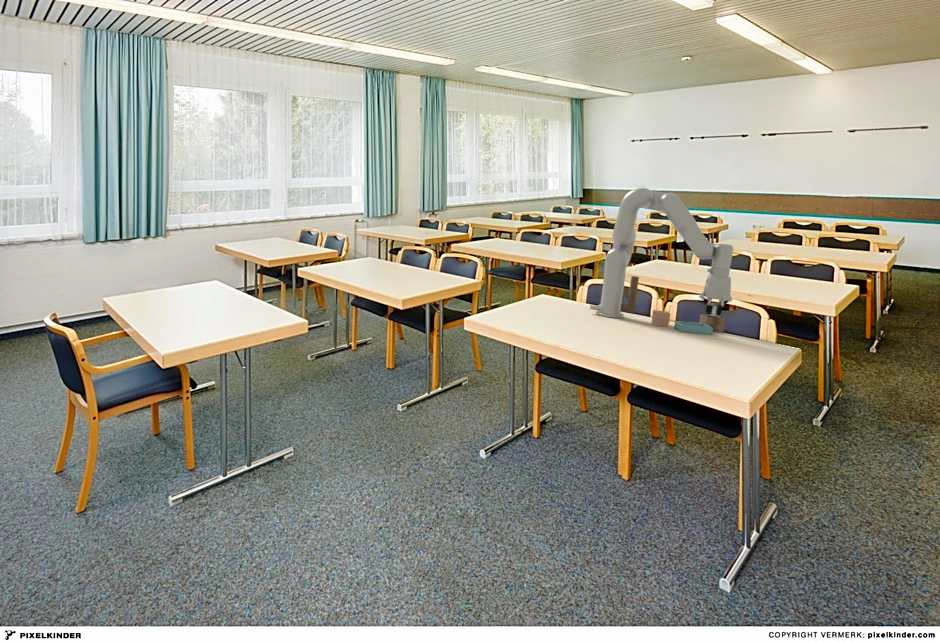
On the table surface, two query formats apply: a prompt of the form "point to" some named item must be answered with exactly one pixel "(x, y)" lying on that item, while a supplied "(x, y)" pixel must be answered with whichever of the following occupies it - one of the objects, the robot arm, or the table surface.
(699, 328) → the tray
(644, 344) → the table surface
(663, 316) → the block
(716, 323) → the brown block
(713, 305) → the pin gauge
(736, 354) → the table surface
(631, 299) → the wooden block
